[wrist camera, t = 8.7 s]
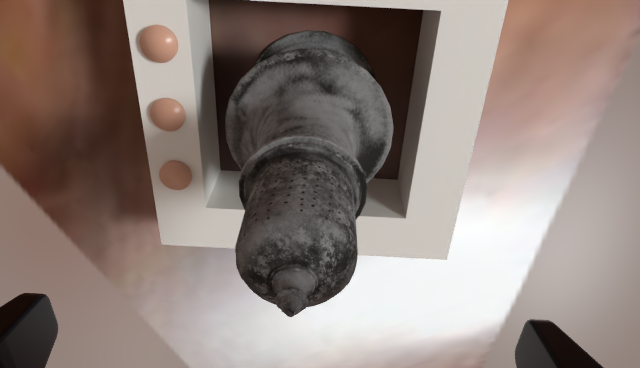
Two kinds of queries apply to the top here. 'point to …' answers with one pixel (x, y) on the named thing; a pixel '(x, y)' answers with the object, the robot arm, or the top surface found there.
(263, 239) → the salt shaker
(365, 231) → the socket block
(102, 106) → the top surface
